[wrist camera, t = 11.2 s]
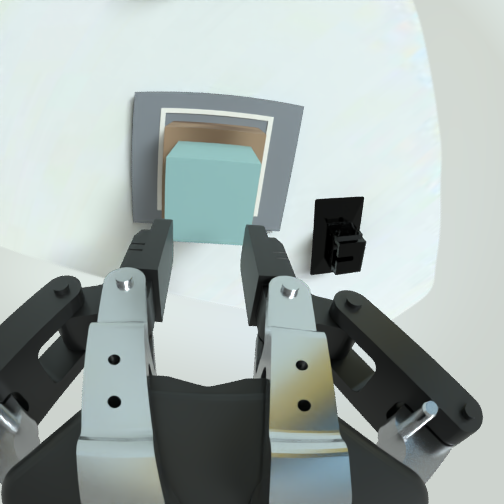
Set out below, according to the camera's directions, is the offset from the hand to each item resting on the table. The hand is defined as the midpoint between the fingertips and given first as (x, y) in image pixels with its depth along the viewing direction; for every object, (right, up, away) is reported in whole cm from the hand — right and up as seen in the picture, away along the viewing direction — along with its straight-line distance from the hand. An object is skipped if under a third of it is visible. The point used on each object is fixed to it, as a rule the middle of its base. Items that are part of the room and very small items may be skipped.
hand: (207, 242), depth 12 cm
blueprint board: (-2, +8, +12) cm, 14 cm away
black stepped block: (+11, +1, +18) cm, 22 cm away
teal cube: (-1, +5, +8) cm, 9 cm away
